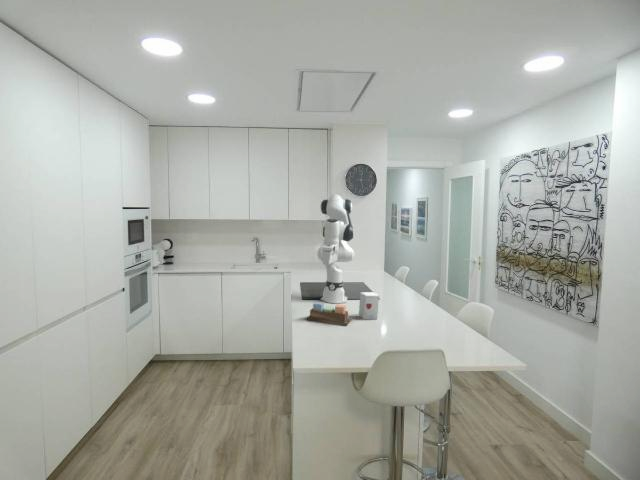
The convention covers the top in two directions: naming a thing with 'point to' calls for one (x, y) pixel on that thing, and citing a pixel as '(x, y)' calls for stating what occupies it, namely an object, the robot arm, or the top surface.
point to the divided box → (329, 317)
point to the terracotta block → (340, 309)
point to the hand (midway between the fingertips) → (330, 270)
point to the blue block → (318, 306)
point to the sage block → (329, 309)
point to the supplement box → (368, 305)
